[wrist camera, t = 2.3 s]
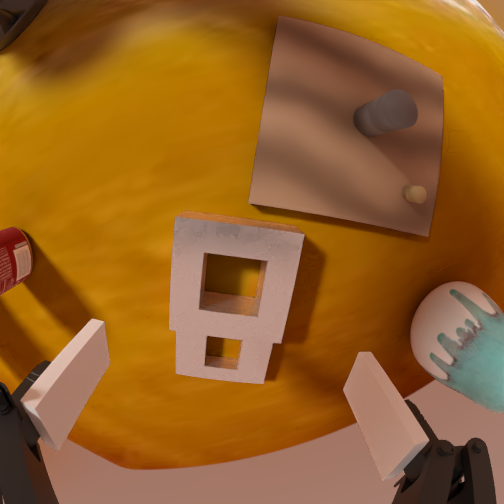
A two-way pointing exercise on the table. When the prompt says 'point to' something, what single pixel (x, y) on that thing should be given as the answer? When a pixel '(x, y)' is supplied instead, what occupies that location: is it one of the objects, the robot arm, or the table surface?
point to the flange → (226, 305)
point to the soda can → (14, 258)
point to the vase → (462, 342)
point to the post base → (348, 130)
